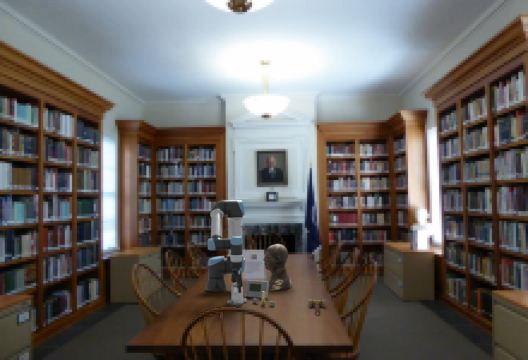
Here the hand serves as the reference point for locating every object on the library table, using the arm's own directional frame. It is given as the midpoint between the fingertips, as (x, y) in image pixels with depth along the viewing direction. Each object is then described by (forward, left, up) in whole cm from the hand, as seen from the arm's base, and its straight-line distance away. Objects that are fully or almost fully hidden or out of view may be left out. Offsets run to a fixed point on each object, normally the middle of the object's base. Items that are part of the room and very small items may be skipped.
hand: (236, 295), depth 244 cm
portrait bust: (-3, +57, -5) cm, 57 cm away
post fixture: (+16, +6, -5) cm, 18 cm away
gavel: (+50, +11, -6) cm, 52 cm away
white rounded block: (0, 0, -4) cm, 4 cm away
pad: (0, 0, -5) cm, 5 cm away
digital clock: (+3, +20, -5) cm, 20 cm away
